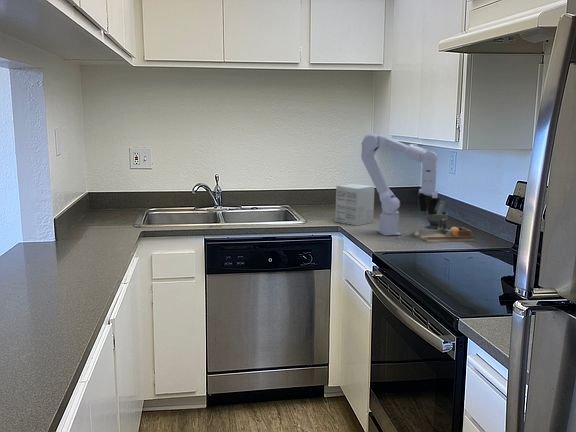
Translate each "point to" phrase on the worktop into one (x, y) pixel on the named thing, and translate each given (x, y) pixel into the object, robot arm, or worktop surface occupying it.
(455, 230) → the ball
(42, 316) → the worktop surface
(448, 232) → the kicker
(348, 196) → the supplement box
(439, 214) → the mortar and pestle
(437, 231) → the pitch
